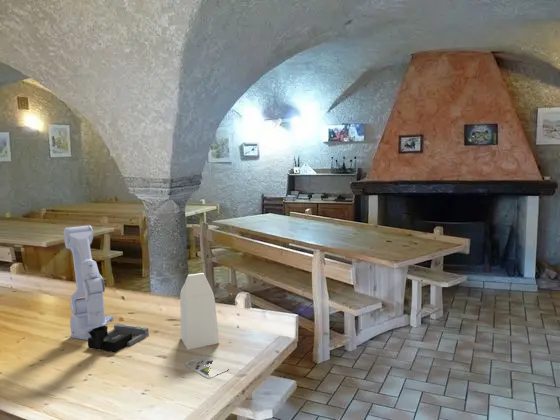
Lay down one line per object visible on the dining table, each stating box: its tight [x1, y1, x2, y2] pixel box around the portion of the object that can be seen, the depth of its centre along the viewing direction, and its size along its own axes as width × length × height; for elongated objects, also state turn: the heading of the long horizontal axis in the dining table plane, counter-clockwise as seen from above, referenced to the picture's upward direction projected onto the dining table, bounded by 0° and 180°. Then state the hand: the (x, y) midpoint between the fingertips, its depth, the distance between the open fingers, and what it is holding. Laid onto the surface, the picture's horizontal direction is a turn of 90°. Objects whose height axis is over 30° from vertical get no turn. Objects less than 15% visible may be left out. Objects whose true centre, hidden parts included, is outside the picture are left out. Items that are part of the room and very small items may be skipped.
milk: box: [179, 272, 220, 351], centre depth 176 cm, size 12×12×26 cm
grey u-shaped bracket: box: [107, 323, 150, 347], centre depth 182 cm, size 15×11×3 cm
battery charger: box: [87, 330, 133, 354], centre depth 175 cm, size 13×10×4 cm
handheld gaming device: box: [184, 355, 214, 379], centre depth 155 cm, size 9×1×15 cm
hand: (99, 346), depth 170 cm, fingers closed
